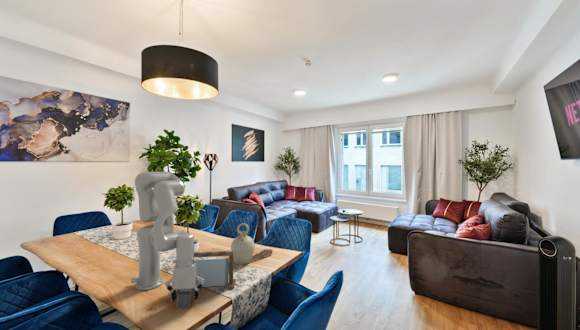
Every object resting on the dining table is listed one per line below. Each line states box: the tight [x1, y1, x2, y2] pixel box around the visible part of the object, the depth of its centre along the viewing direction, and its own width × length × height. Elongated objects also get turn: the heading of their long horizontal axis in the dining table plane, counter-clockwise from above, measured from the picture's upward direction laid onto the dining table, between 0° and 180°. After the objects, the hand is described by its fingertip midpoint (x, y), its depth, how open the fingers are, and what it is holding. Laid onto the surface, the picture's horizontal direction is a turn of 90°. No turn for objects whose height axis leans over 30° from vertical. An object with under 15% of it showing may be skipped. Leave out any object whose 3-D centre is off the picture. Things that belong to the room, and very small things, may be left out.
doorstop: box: [176, 288, 195, 310], centre depth 109 cm, size 5×15×6 cm, turn 8°
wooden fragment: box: [250, 248, 274, 263], centre depth 162 cm, size 26×11×1 cm, turn 150°
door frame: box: [176, 250, 237, 294], centre depth 120 cm, size 28×8×18 cm, turn 98°
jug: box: [230, 222, 256, 265], centre depth 153 cm, size 15×16×25 cm
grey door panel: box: [194, 257, 229, 288], centre depth 120 cm, size 21×1×14 cm, turn 98°
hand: (185, 299), depth 105 cm, fingers open, 9 cm apart
